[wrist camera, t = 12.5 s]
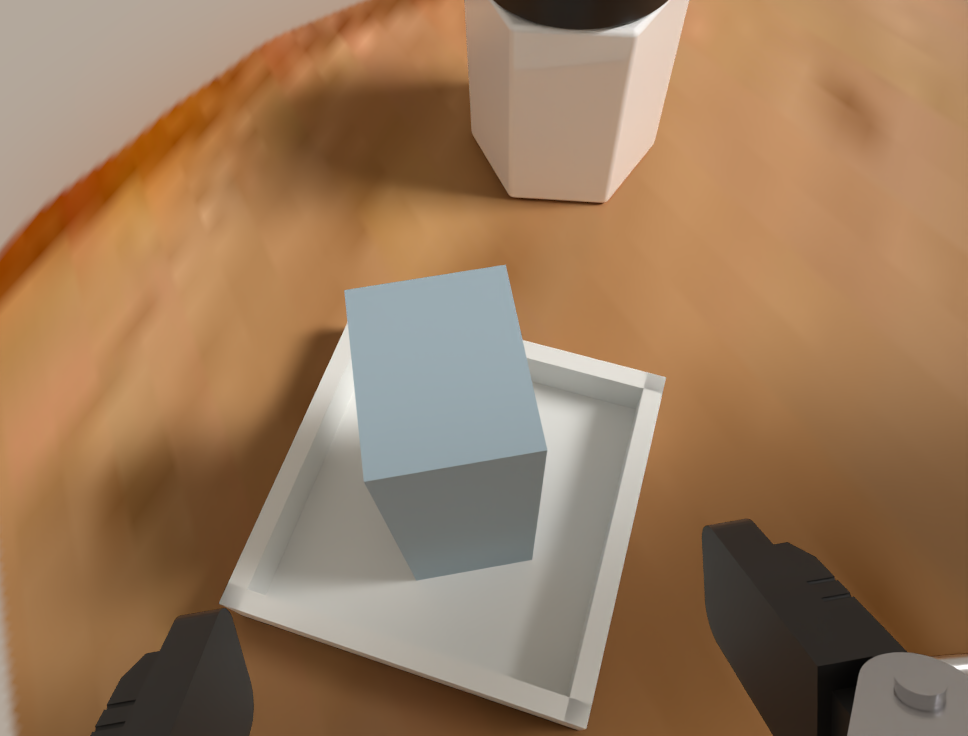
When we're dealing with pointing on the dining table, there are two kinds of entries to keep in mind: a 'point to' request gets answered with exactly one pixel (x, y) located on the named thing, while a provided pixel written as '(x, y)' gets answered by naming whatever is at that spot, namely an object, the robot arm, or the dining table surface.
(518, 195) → the jar
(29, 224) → the dining table surface
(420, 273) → the dining table surface
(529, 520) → the tall gray-blue pillar
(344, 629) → the parts tray
